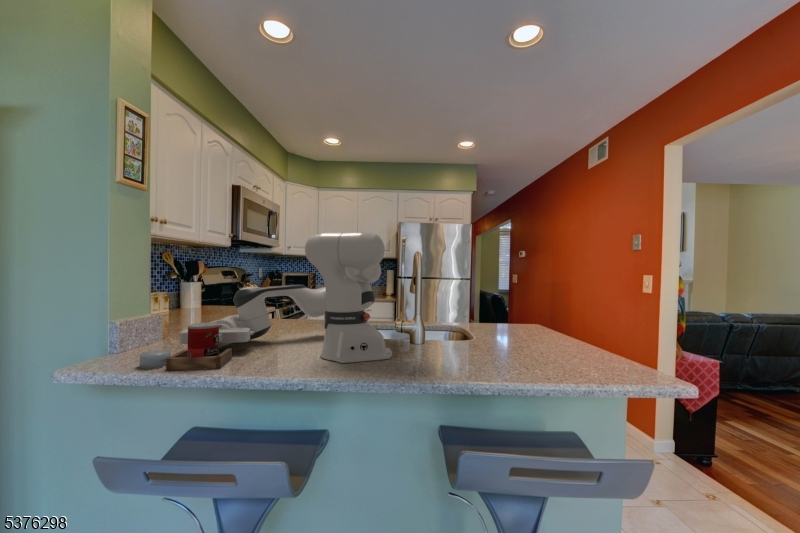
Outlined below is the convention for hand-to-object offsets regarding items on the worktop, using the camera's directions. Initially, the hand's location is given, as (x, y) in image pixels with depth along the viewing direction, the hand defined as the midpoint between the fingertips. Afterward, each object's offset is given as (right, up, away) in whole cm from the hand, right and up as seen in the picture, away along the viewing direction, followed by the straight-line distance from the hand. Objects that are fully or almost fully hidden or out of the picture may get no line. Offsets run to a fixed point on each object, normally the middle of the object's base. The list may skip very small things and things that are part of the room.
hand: (207, 340), depth 103 cm
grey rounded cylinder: (-11, -6, -7) cm, 14 cm away
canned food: (+1, -6, -4) cm, 7 cm away
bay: (+1, -6, -5) cm, 7 cm away
